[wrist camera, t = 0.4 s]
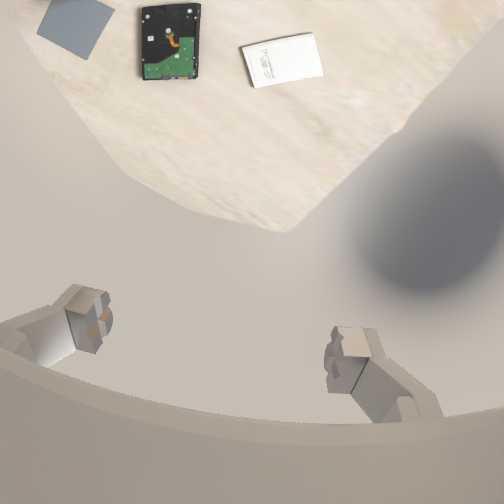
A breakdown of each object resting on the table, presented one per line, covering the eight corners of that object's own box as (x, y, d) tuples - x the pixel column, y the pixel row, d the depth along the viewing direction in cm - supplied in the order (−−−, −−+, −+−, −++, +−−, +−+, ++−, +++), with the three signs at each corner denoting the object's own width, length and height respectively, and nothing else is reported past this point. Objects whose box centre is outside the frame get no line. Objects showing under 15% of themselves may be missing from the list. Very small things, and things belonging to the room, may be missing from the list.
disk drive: (146, 7, 40) (147, 78, 50) (140, 7, 38) (141, 81, 48) (202, 3, 39) (199, 77, 49) (198, 2, 37) (196, 79, 47)
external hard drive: (322, 74, 47) (255, 87, 50) (312, 32, 42) (242, 47, 45) (323, 75, 46) (254, 89, 49) (313, 32, 41) (241, 47, 44)
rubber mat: (61, -15, 33) (60, -15, 32) (115, 9, 39) (114, 9, 38) (38, 33, 39) (37, 33, 39) (87, 59, 46) (86, 60, 45)
